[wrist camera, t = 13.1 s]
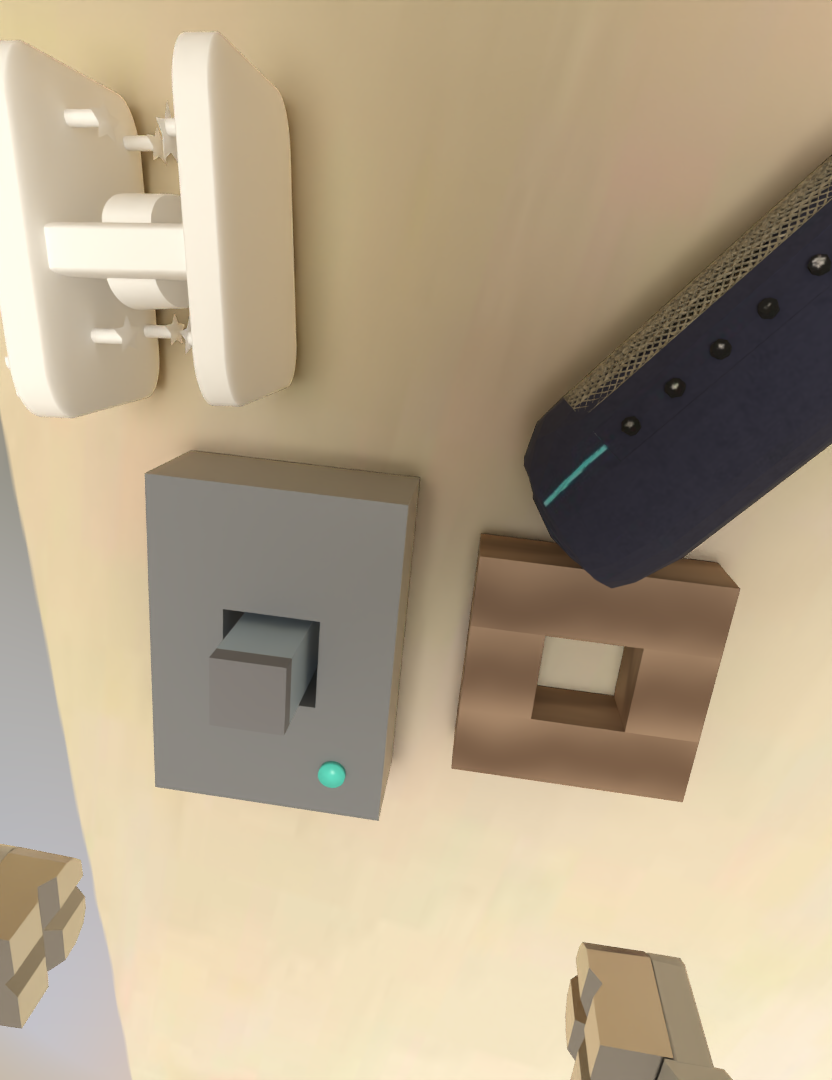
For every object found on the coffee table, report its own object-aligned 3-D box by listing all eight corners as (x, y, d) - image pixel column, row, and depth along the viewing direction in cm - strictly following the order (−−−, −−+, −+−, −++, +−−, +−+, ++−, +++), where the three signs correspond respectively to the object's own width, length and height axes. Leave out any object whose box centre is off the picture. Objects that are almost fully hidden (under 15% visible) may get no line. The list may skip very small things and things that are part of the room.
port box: (191, 450, 43) (141, 474, 37) (420, 477, 42) (407, 507, 36) (194, 730, 49) (152, 791, 43) (391, 759, 48) (377, 825, 42)
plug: (268, 582, 45) (209, 657, 35) (329, 590, 45) (286, 668, 35) (267, 638, 46) (209, 724, 37) (326, 646, 46) (283, 735, 37)
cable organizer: (304, 397, 41) (235, 432, 30) (130, 391, 42) (2, 422, 31) (296, 101, 36) (210, 14, 25) (99, 102, 37) (-66, 18, 26)
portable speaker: (880, 89, 33) (1032, 6, 24) (998, 251, 35) (1184, 232, 26) (487, 447, 41) (486, 490, 31) (600, 567, 42) (630, 642, 33)
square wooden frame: (481, 533, 42) (479, 556, 39) (717, 562, 41) (740, 588, 38) (454, 730, 47) (451, 768, 43) (667, 761, 46) (682, 802, 42)
